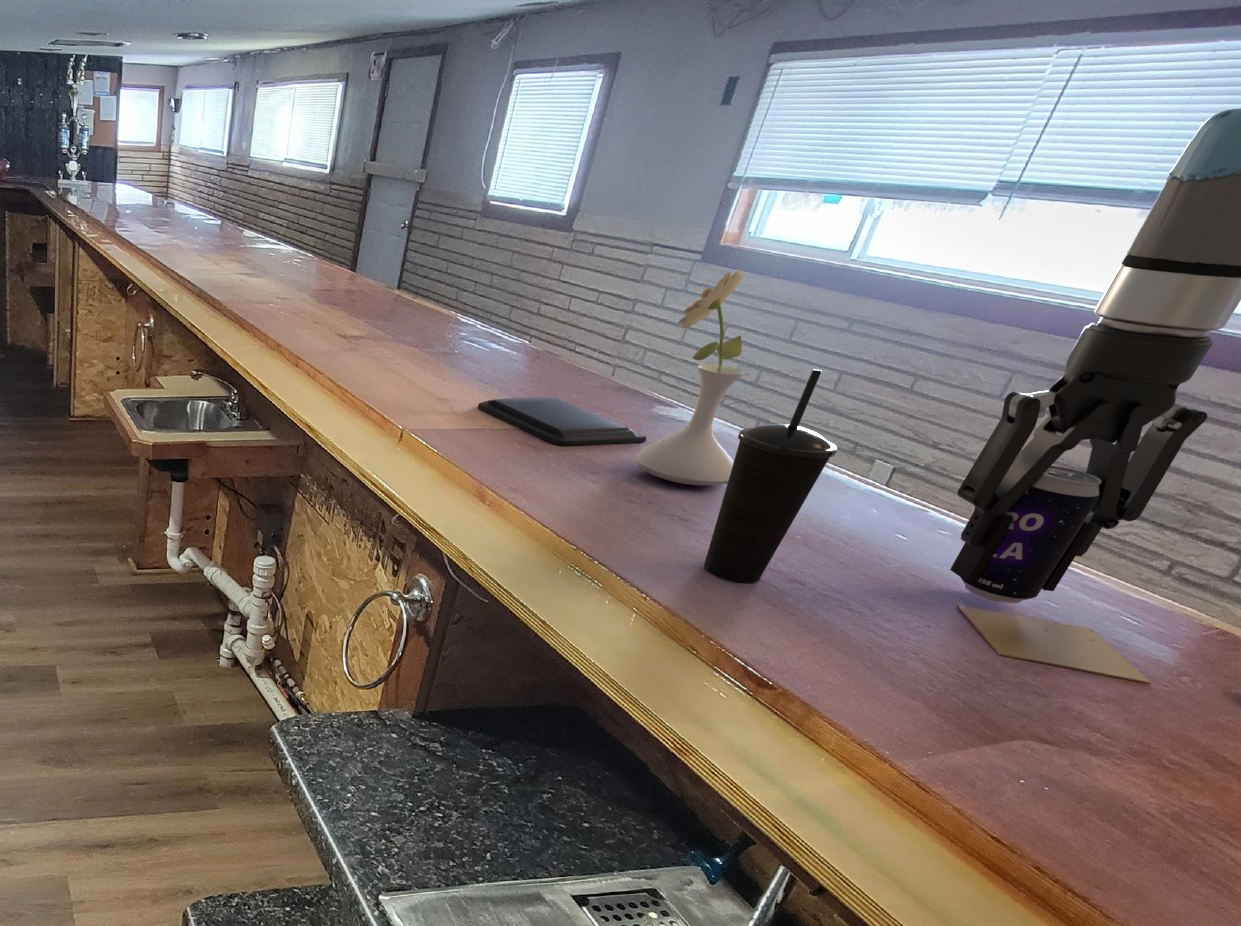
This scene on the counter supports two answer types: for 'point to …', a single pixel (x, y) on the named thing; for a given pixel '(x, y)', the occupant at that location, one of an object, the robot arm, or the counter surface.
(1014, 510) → the beverage can
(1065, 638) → the cork pad
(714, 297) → the flower in vase
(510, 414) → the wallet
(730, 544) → the drinking cup
